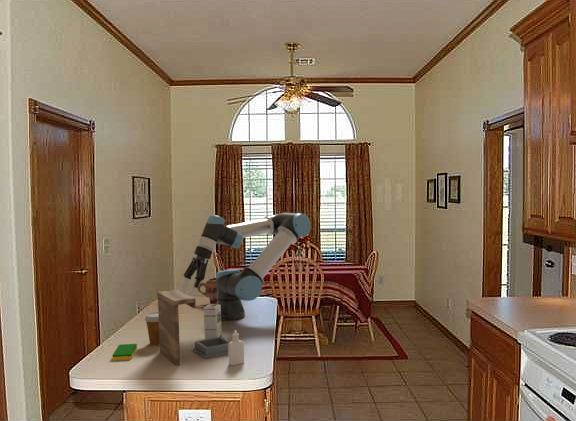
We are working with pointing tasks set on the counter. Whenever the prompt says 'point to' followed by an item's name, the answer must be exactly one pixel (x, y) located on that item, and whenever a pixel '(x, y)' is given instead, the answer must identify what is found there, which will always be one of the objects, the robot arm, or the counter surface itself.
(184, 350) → the counter surface
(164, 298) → the brown l-shaped bracket
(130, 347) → the dish sponge
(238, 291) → the robot arm
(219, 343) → the socket
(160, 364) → the counter surface
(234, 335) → the eye dropper bottle
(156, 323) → the disposable coffee cup
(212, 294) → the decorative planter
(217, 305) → the syrup box
